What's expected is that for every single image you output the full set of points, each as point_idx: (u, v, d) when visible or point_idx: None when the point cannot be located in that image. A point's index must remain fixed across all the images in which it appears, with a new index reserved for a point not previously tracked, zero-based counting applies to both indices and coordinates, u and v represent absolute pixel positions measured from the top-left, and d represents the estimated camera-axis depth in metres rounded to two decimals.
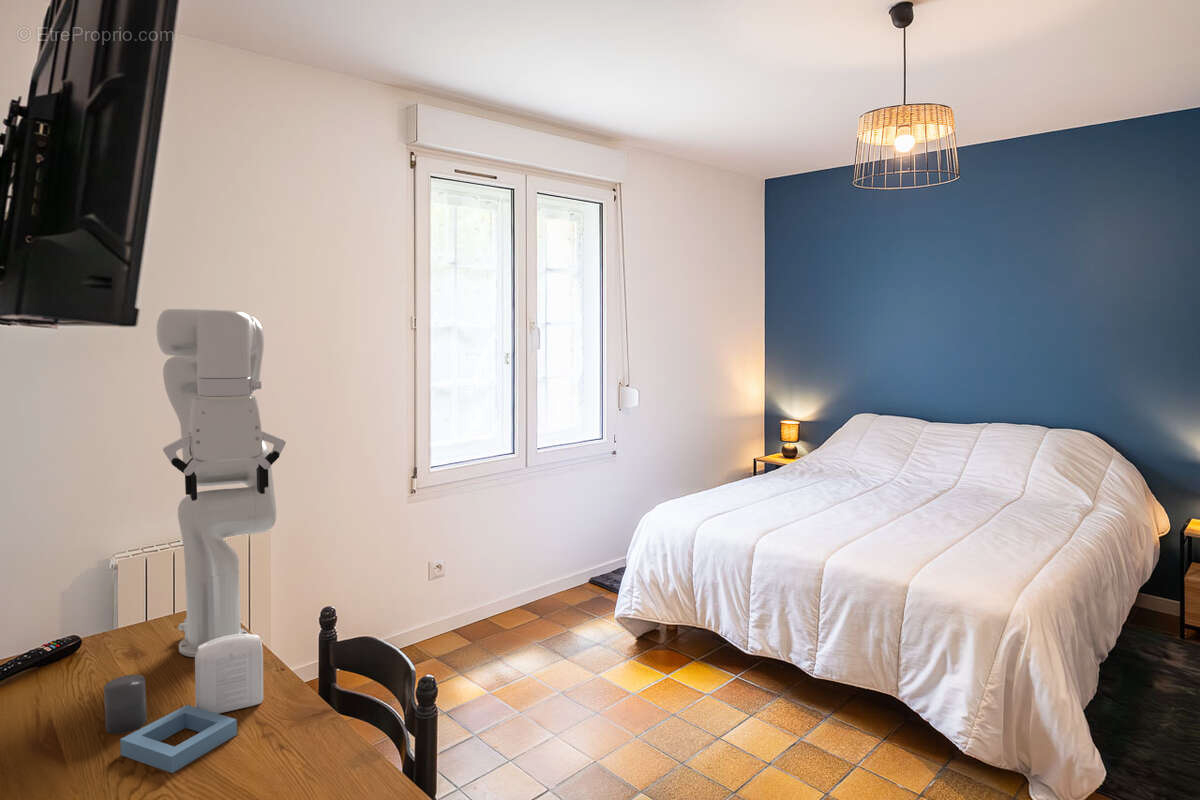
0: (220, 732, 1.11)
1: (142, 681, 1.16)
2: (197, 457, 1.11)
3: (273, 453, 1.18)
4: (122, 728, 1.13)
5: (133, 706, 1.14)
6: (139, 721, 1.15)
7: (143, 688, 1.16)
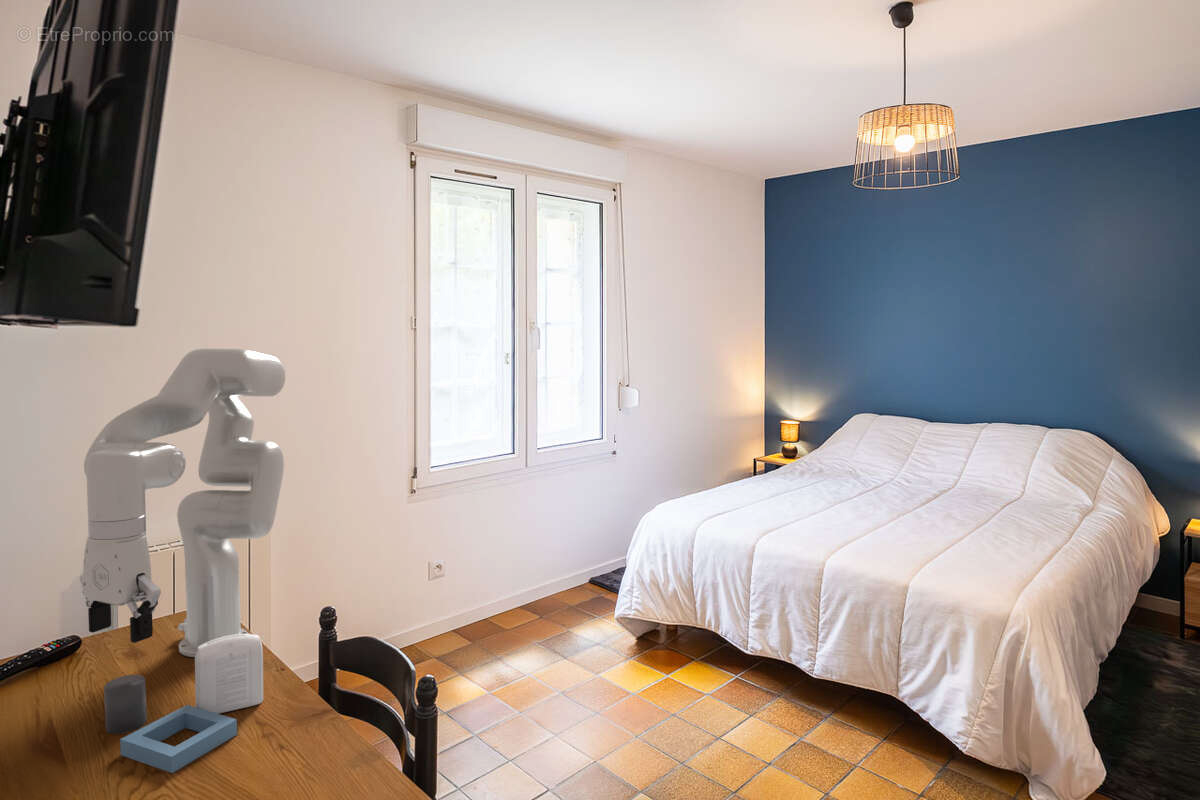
0: (220, 732, 1.11)
1: (142, 681, 1.16)
2: None
3: None
4: (122, 728, 1.13)
5: (133, 706, 1.14)
6: (139, 721, 1.15)
7: (143, 688, 1.16)
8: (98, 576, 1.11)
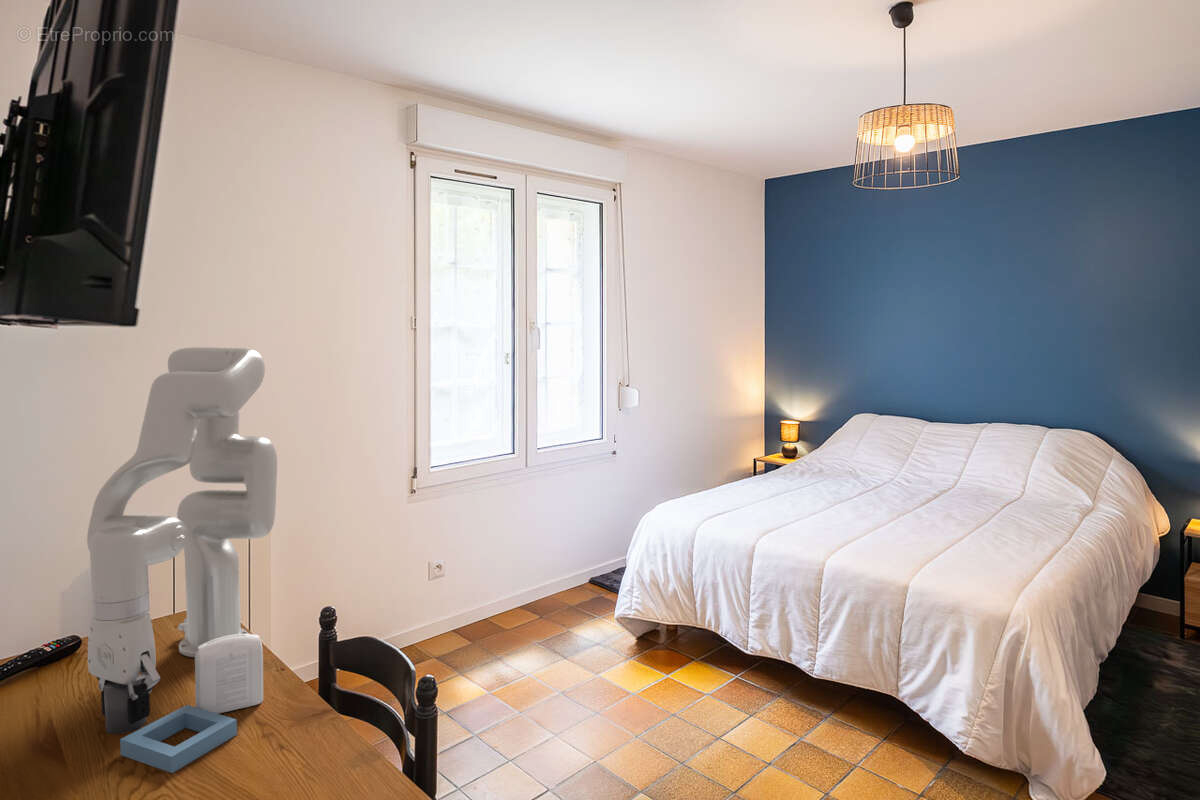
0: (220, 732, 1.11)
1: None
2: None
3: None
4: (122, 728, 1.13)
5: None
6: (139, 721, 1.15)
7: None
8: (103, 655, 1.12)
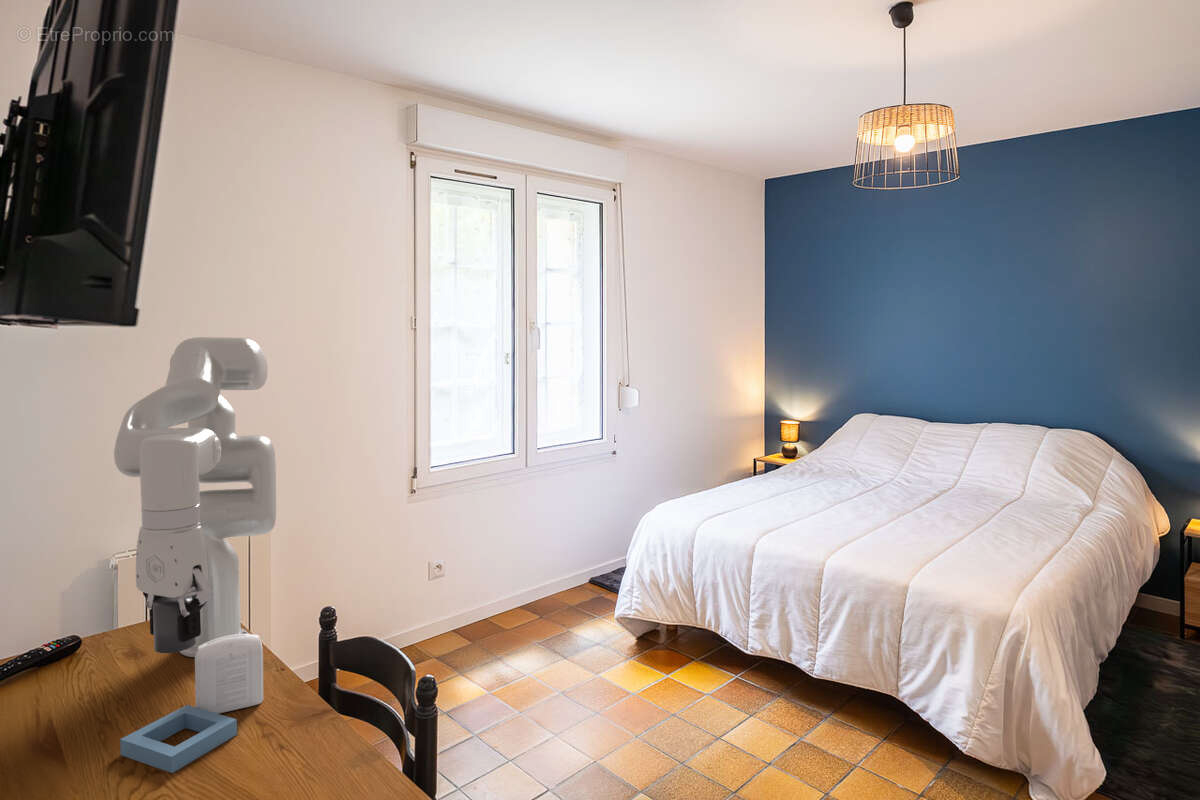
0: (220, 732, 1.11)
1: None
2: None
3: None
4: (172, 647, 1.06)
5: None
6: (189, 641, 1.08)
7: None
8: (152, 568, 1.06)
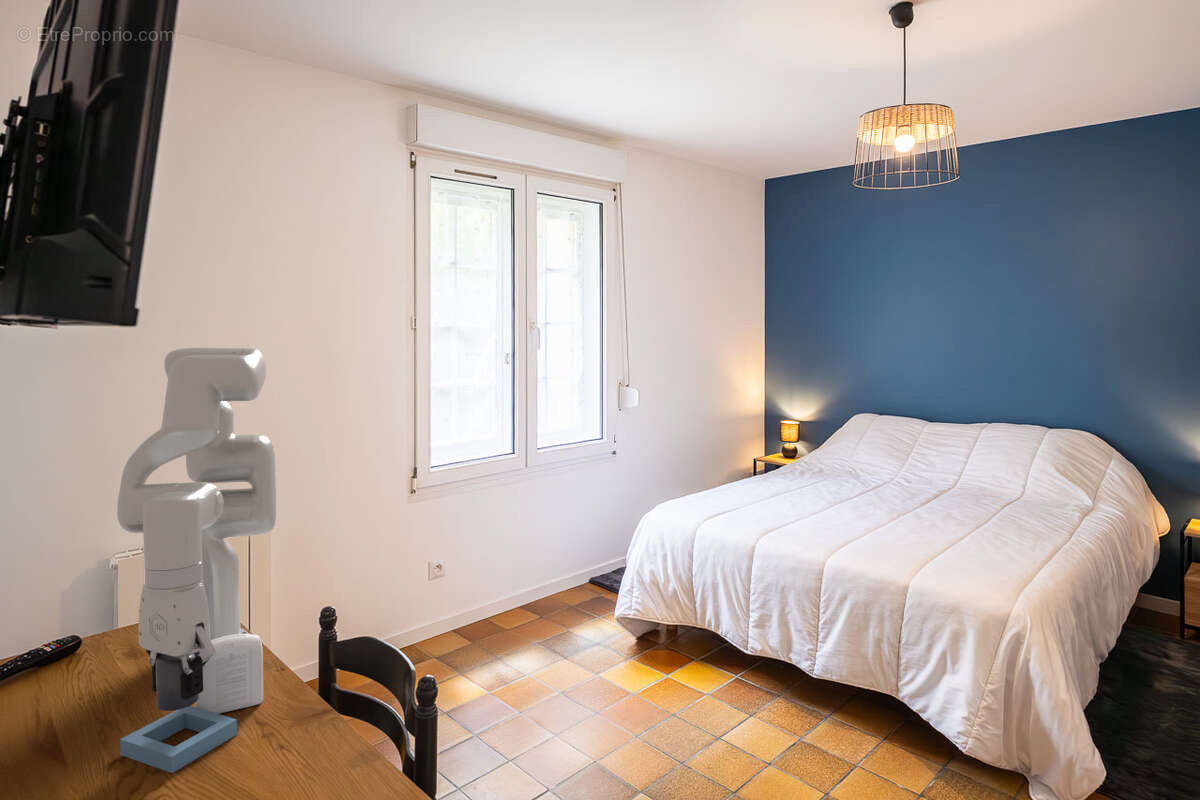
0: (220, 732, 1.11)
1: None
2: None
3: None
4: (175, 704, 1.07)
5: None
6: (192, 697, 1.09)
7: None
8: (155, 626, 1.06)
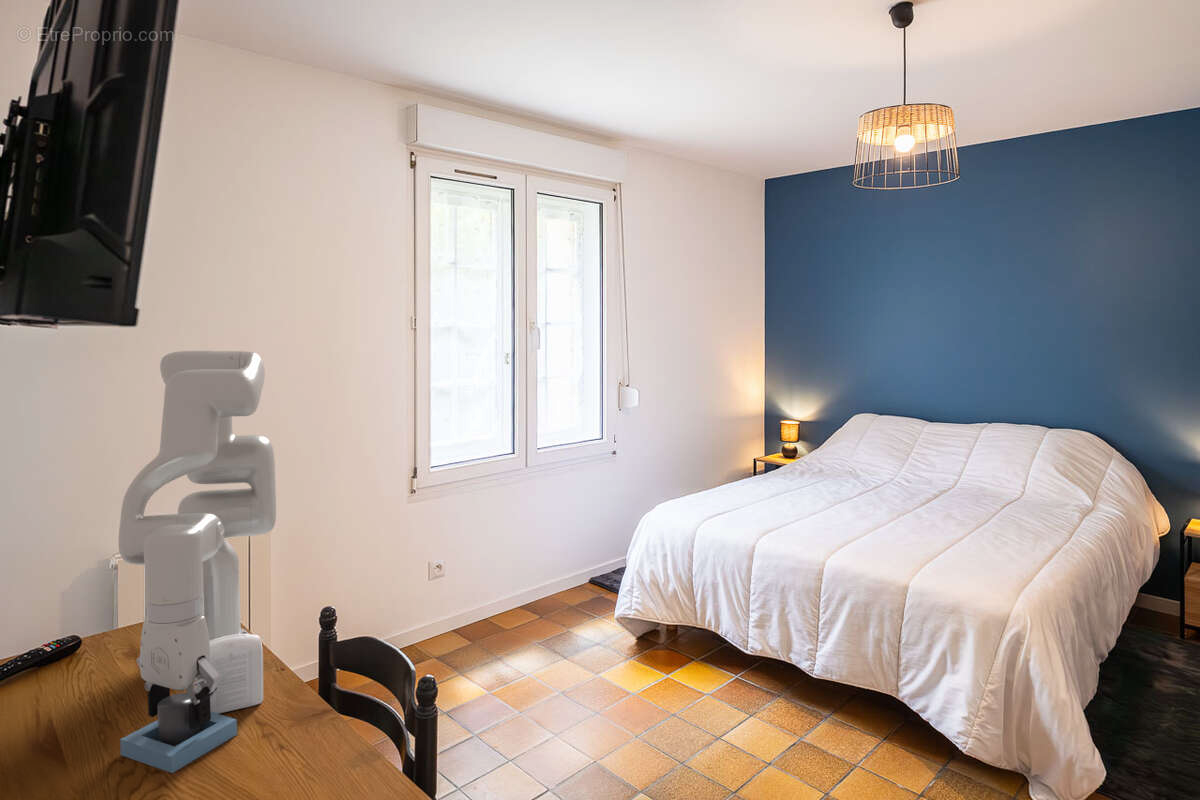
0: (220, 732, 1.11)
1: None
2: None
3: None
4: None
5: (187, 726, 1.09)
6: None
7: None
8: (157, 659, 1.07)
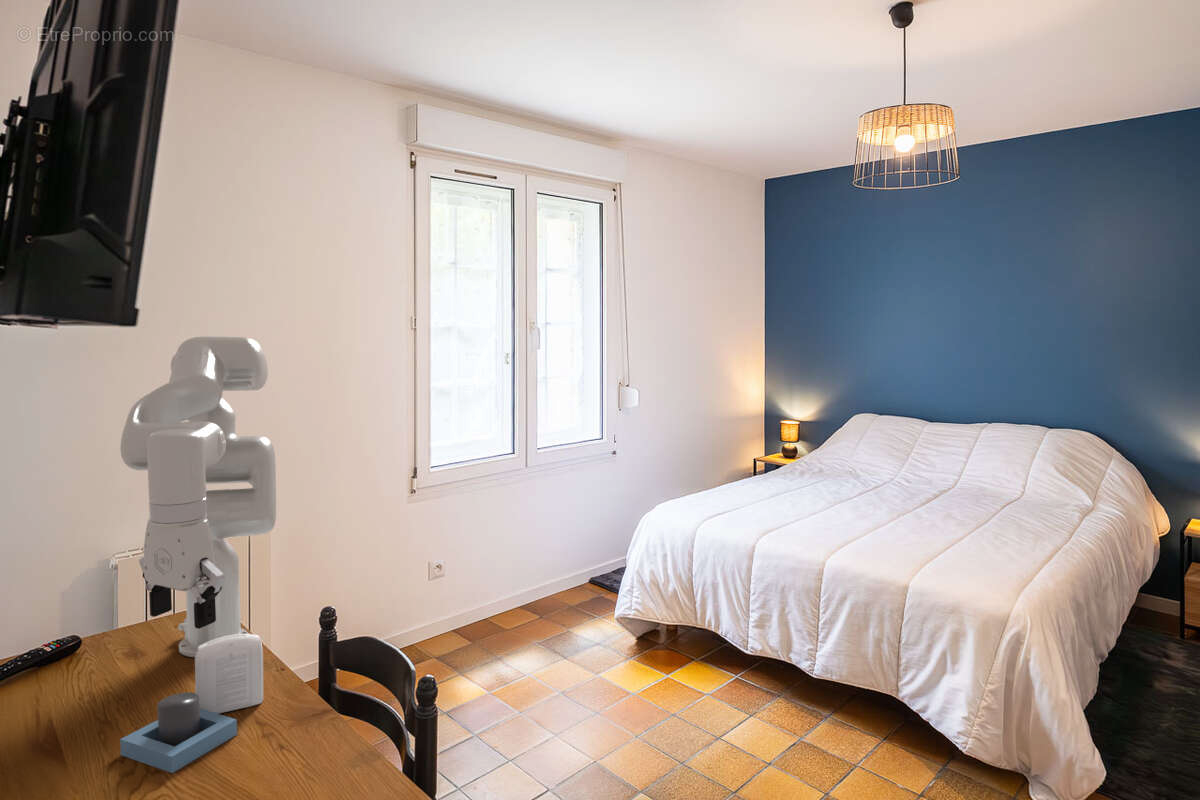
0: (220, 732, 1.11)
1: (196, 699, 1.10)
2: None
3: None
4: None
5: (187, 726, 1.09)
6: None
7: (197, 706, 1.10)
8: (160, 560, 1.08)
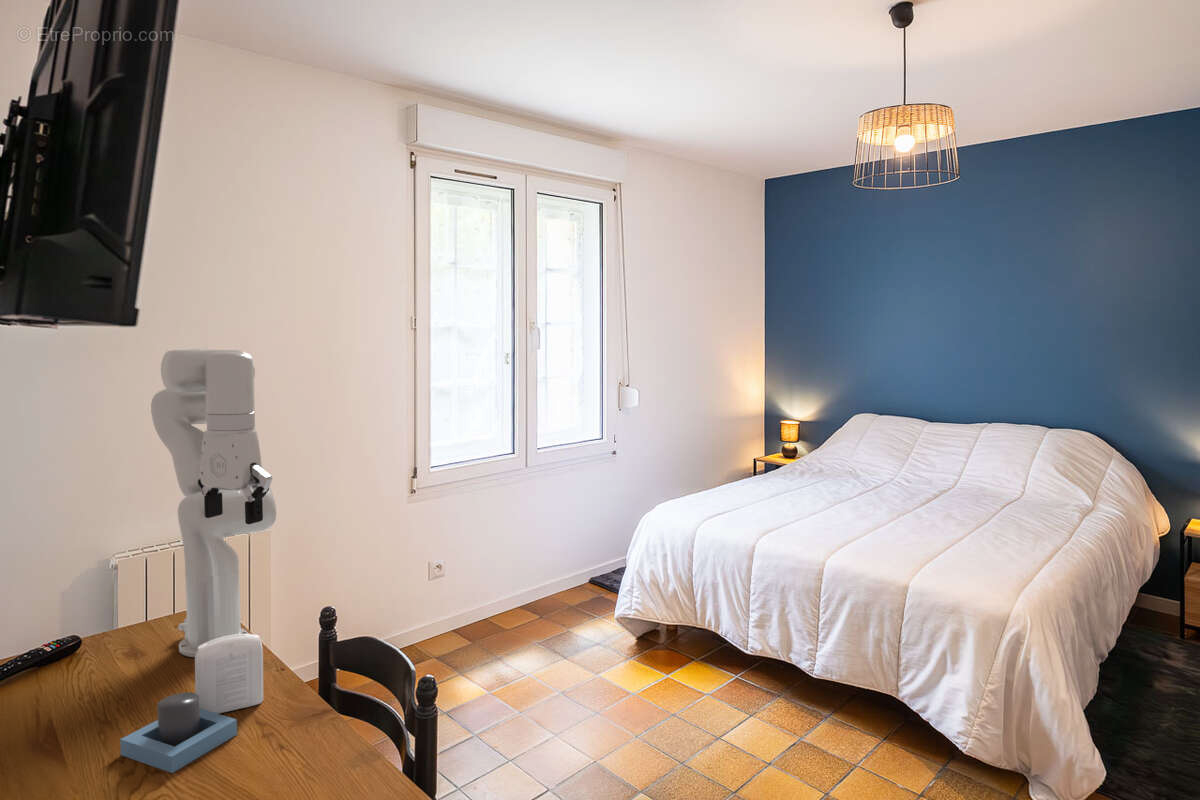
0: (220, 732, 1.11)
1: (196, 699, 1.10)
2: (260, 481, 1.27)
3: None
4: None
5: (187, 726, 1.09)
6: None
7: (197, 706, 1.10)
8: (216, 465, 1.24)
